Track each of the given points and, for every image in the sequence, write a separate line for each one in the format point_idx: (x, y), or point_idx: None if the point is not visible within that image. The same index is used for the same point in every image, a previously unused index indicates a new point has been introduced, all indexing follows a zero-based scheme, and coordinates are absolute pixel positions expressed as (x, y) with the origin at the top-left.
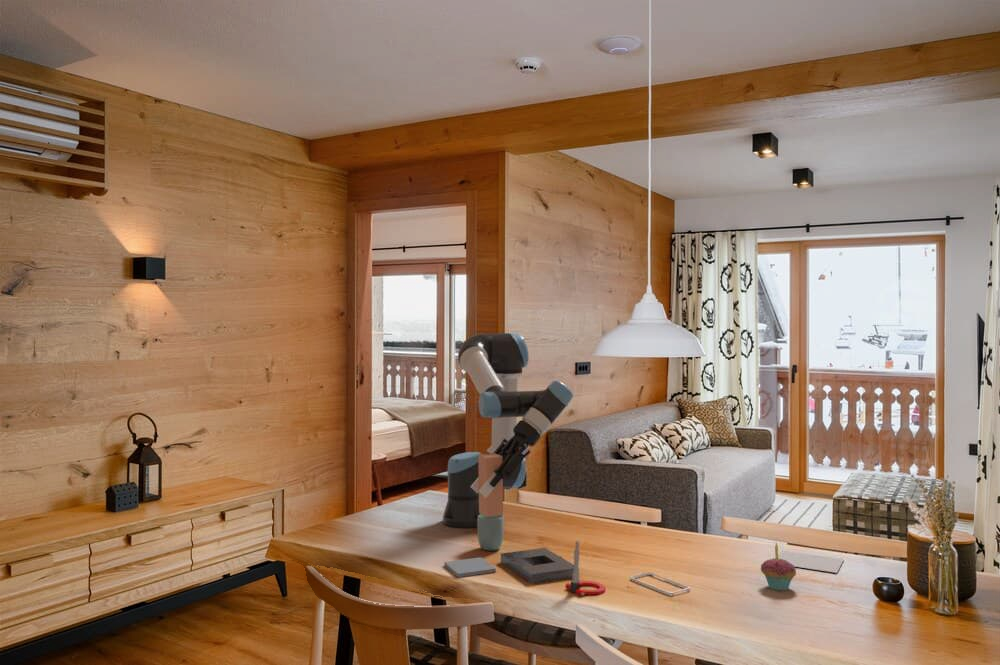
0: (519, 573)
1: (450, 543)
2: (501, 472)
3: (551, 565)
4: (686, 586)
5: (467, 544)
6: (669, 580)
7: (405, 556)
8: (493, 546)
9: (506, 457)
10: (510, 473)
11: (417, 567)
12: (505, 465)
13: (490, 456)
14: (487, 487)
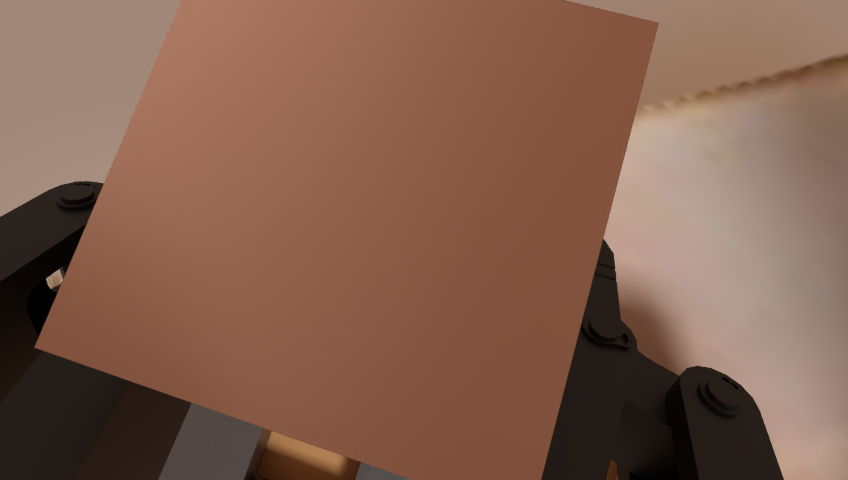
0: None
1: (841, 415)
2: (87, 185)
3: (226, 441)
4: None
5: (781, 463)
6: None
7: (787, 163)
8: (617, 476)
9: (37, 473)
10: (33, 309)
11: (639, 122)
12: (15, 272)
13: (262, 106)
14: None
